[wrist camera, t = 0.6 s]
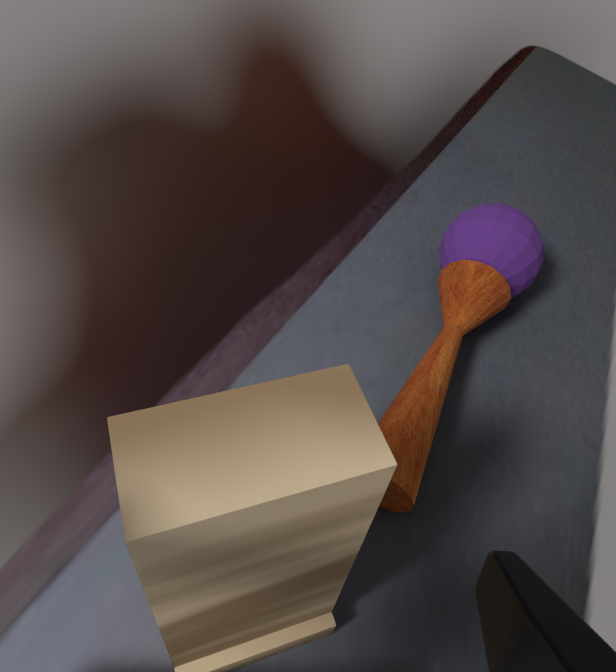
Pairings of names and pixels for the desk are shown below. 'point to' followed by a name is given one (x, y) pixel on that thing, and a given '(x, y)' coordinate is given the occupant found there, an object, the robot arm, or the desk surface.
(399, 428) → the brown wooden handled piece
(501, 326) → the desk surface
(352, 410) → the beige block with panel
